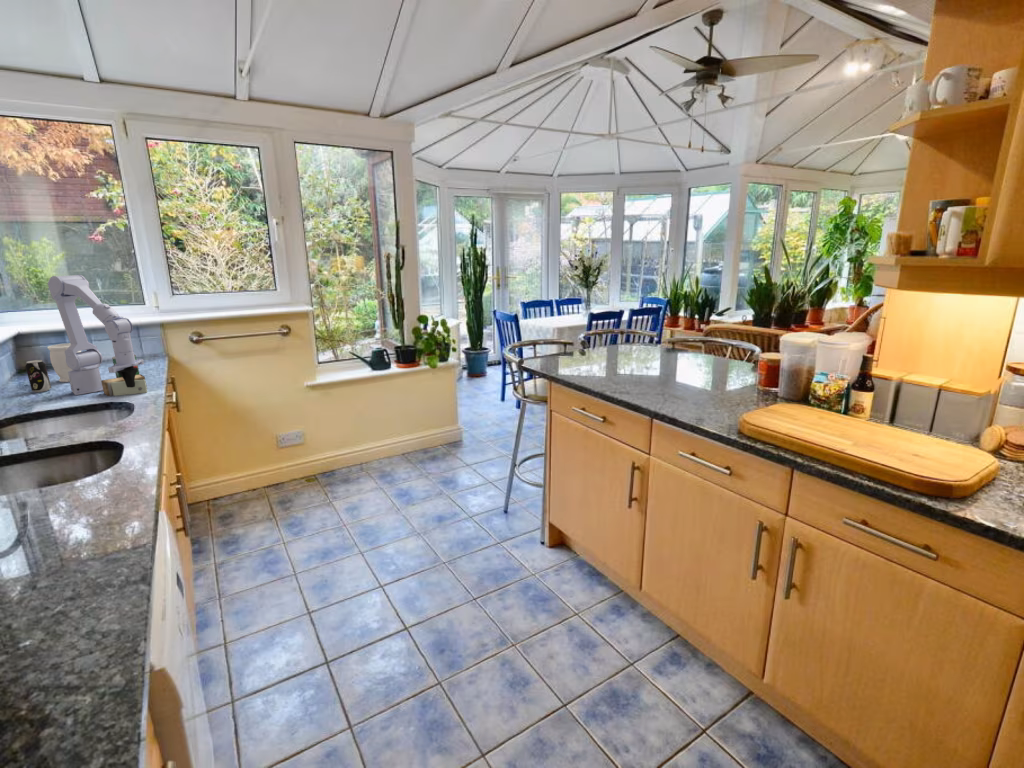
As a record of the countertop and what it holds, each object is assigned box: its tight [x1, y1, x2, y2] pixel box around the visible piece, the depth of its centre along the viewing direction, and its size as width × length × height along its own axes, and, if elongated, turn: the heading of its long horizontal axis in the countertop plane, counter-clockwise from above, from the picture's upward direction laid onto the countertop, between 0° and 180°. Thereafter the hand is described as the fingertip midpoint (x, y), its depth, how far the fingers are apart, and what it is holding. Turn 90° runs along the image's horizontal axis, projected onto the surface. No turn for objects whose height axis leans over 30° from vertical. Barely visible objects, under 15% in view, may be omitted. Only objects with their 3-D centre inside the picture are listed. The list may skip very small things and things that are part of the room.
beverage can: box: [25, 359, 52, 393], centre depth 197 cm, size 6×6×12 cm
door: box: [107, 379, 148, 397], centre depth 192 cm, size 12×2×5 cm, turn 112°
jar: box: [47, 342, 82, 383], centre depth 213 cm, size 11×10×15 cm
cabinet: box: [101, 373, 148, 397], centre depth 197 cm, size 13×6×5 cm, turn 138°
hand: (131, 386), depth 192 cm, fingers closed, pressing on door
